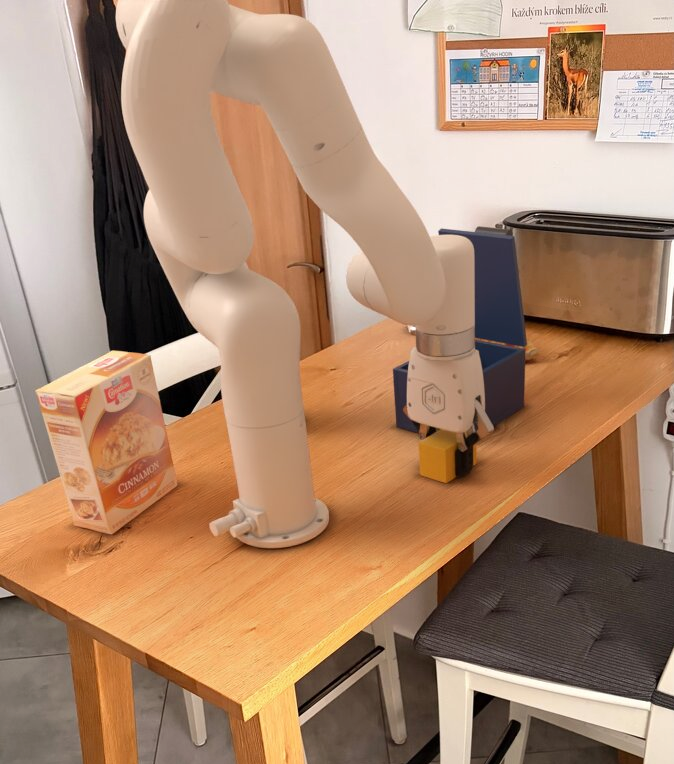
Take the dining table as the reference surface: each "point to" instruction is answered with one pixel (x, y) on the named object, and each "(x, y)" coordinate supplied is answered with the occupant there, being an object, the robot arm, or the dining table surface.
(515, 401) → the cool box
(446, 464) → the cheese block
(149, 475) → the coffeecake box
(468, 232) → the lid
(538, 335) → the dining table surface
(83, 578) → the dining table surface
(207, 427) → the dining table surface
